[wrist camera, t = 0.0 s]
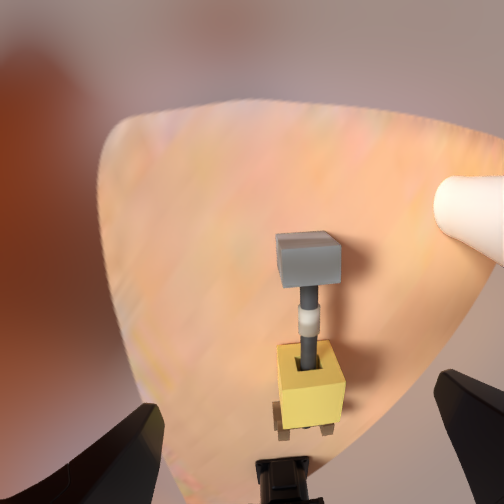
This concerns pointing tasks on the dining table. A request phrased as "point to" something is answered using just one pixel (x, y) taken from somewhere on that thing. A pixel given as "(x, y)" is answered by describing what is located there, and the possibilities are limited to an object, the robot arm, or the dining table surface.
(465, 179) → the drinking glass
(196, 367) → the dining table surface
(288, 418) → the sleeve
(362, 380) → the dining table surface
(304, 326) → the cord fixture
